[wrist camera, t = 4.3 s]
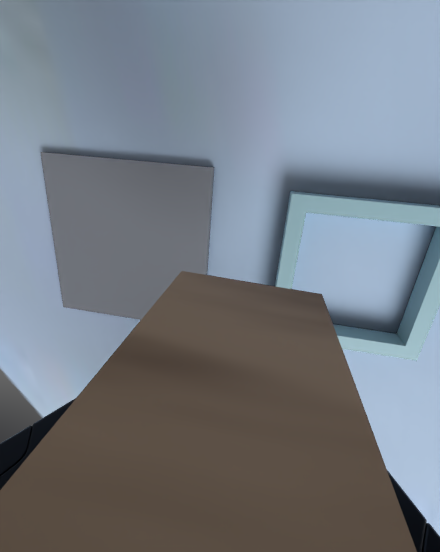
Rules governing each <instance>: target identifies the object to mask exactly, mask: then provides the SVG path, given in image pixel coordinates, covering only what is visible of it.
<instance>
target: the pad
mask: <svg viewBox="0 0 440 552" xmlns="http://www.w3.org/2000/svg"><path fill="white" fill-rule="evenodd" d="M41 159H42V166H43V172H44V179H45V186H46V193H47V199H48V206H49V213H50V220H51V226H52V233H53V240H54V247H55V253H56V260H57V267H58V274H59V280H60V287H61V294H62V301H63V307H66V308H72V309H79V310H85V311H91V312H97V313H103V314H109V315H116V316H122V317H128V318H134V319H140V320H141V319H142V318H143V317H144V316H145V315H146V313H147V312H148V311H149V310H150V309H151V307H152V306H153V305H154V304H155V303H156V301H157V300H158V299H159V298H160V296H161V295H162V294H163V293H164V292H165V290H166V289H167V288H168V287H169V286H170V284H171V283H172V282H173V281H174V280H175V278H176V277H177V276H178V275H179V274H180V272H181V271H185V272H191V273H197V274H203V275H207V270H208V254H209V239H210V224H211V209H212V194H213V178H214V167H203V166H192V165H181V164H170V163H159V162H147V161H136V160H125V159H114V158H103V157H91V156H80V155H69V154H58V153H47V152H41Z"/></svg>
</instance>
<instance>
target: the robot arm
mask: <svg viewBox="0 0 440 552" xmlns="http://www.w3.org/2000/svg"><path fill="white" fill-rule="evenodd" d="M75 399H76V398H75ZM75 399H74V400H72V401H70V402H69V403H67V404H65V405H64V406H62V407H60V408H59V409H57V410H55V411H54V412H52V413H51V414H49V415H47V416H46V417H44V418H42V419H41V420H39V421H37V422H36V423H34V424H33V426H29V427H27V428H25V429H24V430H22V431H21V432H19V433H17V434H16V435H14V436H12V437H11V438H9V439H7V440H5V441H3V442H2V443H0V490H1V489H2V488H3V486H4V485H5V484H6V483H7V482H8V480H9V479H10V478H11V477H12V476H13V474H14V473H15V472H16V471H17V469H18V468H19V467H20V466H21V465H22V463H23V462H24V461H25V460H26V459H27V457H28V456H29V455H30V454H31V453H32V451H33V450H34V449H35V448H36V446H37V445H38V444H39V443H40V442H41V440H42V439H43V438H44V437H45V436H46V434H47V433H48V432H49V431H50V430H51V428H52V427H53V426H54V425H55V423H56V422H57V421H58V420H59V419H60V417H61V416H62V415H63V414H64V413H65V411H66V410H67V409H68V408H69V407H70V405H71V404H72V403H73V402H74V401H75ZM387 472H388V471H387ZM388 475H389V478H390V480H391V483H392V486H393V488H394V491H395V494H396V496H397V499H398V502H399V505H400V507H401V510H402V513H403V515H404V518H405V521H406V524H407V526H408V529H409V532H410V534H411V537H412V540H413V543H414V545H415V548H416V551H417V552H440V536H439V535H438V534H437V532H436V531H435V530H434V529H433V527H432V526H431V525H430V524H429V523H426V522H427V521H426V519H425V517H424V516H423V515H422V514H421V512H420V511H419V510H418V509H417V507H416V506H415V505H414V503H413V502H412V501H411V500H410V498H409V497H408V496H407V495H406V493H405V492H404V491H403V490H402V488H401V487H400V486H399V484H398V483H397V482H396V481H395V479H394V478H393V477H392V476H391V474H390V473H389V472H388Z"/></svg>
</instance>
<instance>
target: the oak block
mask: <svg viewBox="0 0 440 552" xmlns="http://www.w3.org/2000/svg"><path fill="white" fill-rule="evenodd" d="M0 552H417V551H416V548H415V545H414V543H413V540H412V537H411V534H410V532H409V529H408V526H407V524H406V521H405V518H404V515H403V513H402V510H401V507H400V505H399V502H398V499H397V496H396V494H395V491H394V488H393V486H392V483H391V480H390V478H389V475H388V472H387V469H386V467H385V464H384V461H383V459H382V456H381V453H380V450H379V448H378V445H377V442H376V440H375V437H374V434H373V431H372V429H371V426H370V423H369V421H368V418H367V415H366V412H365V410H364V407H363V404H362V402H361V399H360V396H359V394H358V391H357V388H356V385H355V383H354V380H353V377H352V375H351V372H350V369H349V366H348V364H347V361H346V358H345V356H344V353H343V350H342V347H341V345H340V342H339V339H338V337H337V334H336V331H335V329H334V326H333V323H332V320H331V318H330V315H329V312H328V310H327V307H326V304H325V301H324V299H323V296H322V294H317V293H311V292H305V291H299V290H293V289H287V288H281V287H275V286H269V285H263V284H257V283H251V282H245V281H239V280H233V279H227V278H221V277H215V276H209V275H203V274H197V273H191V272H185V271H181V272H180V274H179V275H178V276H177V277H176V278H175V280H174V281H173V282H172V283H171V284H170V286H169V287H168V288H167V289H166V290H165V292H164V293H163V294H162V295H161V296H160V298H159V299H158V300H157V301H156V303H155V304H154V305H153V306H152V307H151V309H150V310H149V311H148V312H147V313H146V315H145V316H144V317H143V318H142V319H141V321H140V322H139V323H138V324H137V326H136V327H135V328H134V329H133V330H132V332H131V333H130V334H129V335H128V336H127V338H126V339H125V340H124V341H123V342H122V344H121V345H120V346H119V347H118V348H117V350H116V351H115V352H114V353H113V355H112V356H111V357H110V358H109V359H108V361H107V362H106V363H105V364H104V365H103V367H102V368H101V369H100V370H99V371H98V373H97V374H96V375H95V376H94V378H93V379H92V380H91V381H90V382H89V384H88V385H87V386H86V387H85V388H84V390H83V391H82V392H81V393H80V394H79V396H78V397H77V398H76V399H75V401H74V402H73V403H72V404H71V405H70V407H69V408H68V409H67V410H66V411H65V413H64V414H63V415H62V416H61V417H60V419H59V420H58V421H57V422H56V423H55V425H54V426H53V427H52V428H51V430H50V431H49V432H48V433H47V434H46V436H45V437H44V438H43V439H42V440H41V442H40V443H39V444H38V445H37V446H36V448H35V449H34V450H33V451H32V453H31V454H30V455H29V456H28V457H27V459H26V460H25V461H24V462H23V463H22V465H21V466H20V467H19V468H18V469H17V471H16V472H15V473H14V474H13V476H12V477H11V478H10V479H9V480H8V482H7V483H6V484H5V485H4V486H3V488H2V489H1V490H0Z"/></svg>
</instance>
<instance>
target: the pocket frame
mask: <svg viewBox="0 0 440 552" xmlns="http://www.w3.org/2000/svg"><path fill="white" fill-rule="evenodd" d="M306 213H314V214H324V215H334V216H343V217H353V218H362V219H372V220H381V221H391V222H400V223H410V224H419V225H429V226H436V229H435V232H434V234H433V237H432V240H431V242H430V245H429V248H428V251H427V253H426V256H425V259H424V261H423V264H422V267H421V269H420V272H419V275H418V278H417V280H416V283H415V286H414V288H413V291H412V294H411V296H410V299H409V302H408V305H407V307H406V310H405V313H404V315H403V318H402V321H401V324H400V326H399V329H398V332H397V334H395V333H388V332H381V331H375V330H368V329H361V328H355V327H348V326H342V325H335V324H333V326H334V329H335V331H336V334H337V337H338V339H339V342H340V345H341V347H342V349H346V350H352V351H358V352H364V353H370V354H377V355H383V356H389V357H395V358H402V359H408V360H414V361H417V359H418V356H419V354H420V352H421V349H422V347H423V344H424V342H425V340H426V337H427V335H428V332H429V330H430V328H431V325H432V323H433V320H434V318H435V316H436V313H437V311H438V309H439V306H440V206H439V205H428V204H418V203H408V202H397V201H387V200H377V199H366V198H356V197H346V196H335V195H325V194H315V193H304V192H294V191H290V197H289V203H288V209H287V215H286V221H285V227H284V233H283V239H282V245H281V251H280V257H279V264H278V270H277V276H276V282H275V287H281V288H287V289H292V284H293V279H294V273H295V268H296V263H297V258H298V252H299V247H300V242H301V237H302V231H303V226H304V221H305V216H306Z"/></svg>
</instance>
